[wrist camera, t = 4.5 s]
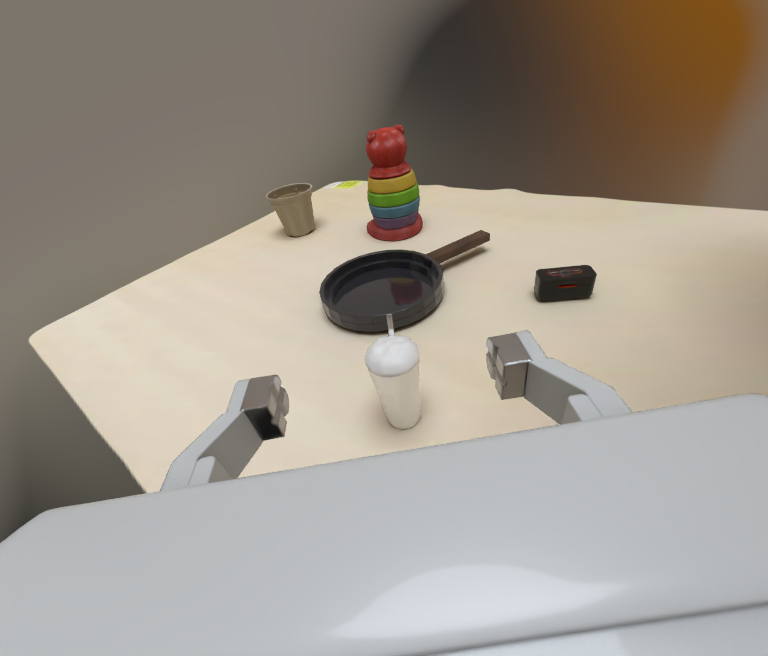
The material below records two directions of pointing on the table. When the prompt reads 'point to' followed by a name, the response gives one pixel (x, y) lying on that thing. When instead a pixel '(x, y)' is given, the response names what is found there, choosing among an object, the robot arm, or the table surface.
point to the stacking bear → (391, 187)
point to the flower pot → (294, 208)
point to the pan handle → (458, 247)
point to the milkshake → (396, 377)
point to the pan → (382, 290)
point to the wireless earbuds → (564, 283)
